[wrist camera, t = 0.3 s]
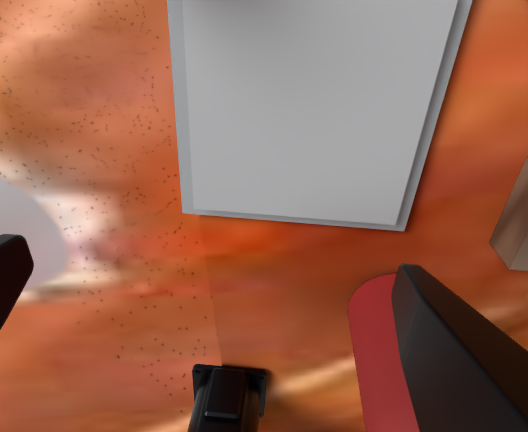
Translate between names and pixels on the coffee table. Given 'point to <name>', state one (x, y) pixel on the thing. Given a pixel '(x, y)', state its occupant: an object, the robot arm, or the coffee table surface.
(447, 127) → the coffee table surface
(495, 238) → the metal block
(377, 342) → the beer can
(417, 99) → the stand
